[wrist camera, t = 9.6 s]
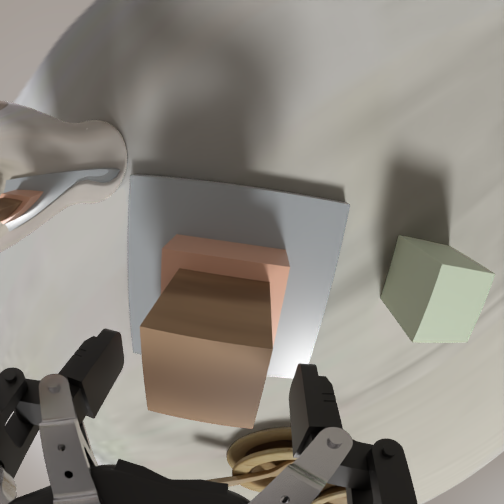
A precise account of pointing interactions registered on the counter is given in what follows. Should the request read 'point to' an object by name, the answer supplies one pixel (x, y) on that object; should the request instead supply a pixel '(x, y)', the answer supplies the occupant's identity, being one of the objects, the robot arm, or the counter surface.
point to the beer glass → (52, 167)
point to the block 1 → (208, 348)
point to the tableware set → (269, 463)
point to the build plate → (244, 225)
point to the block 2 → (435, 291)
